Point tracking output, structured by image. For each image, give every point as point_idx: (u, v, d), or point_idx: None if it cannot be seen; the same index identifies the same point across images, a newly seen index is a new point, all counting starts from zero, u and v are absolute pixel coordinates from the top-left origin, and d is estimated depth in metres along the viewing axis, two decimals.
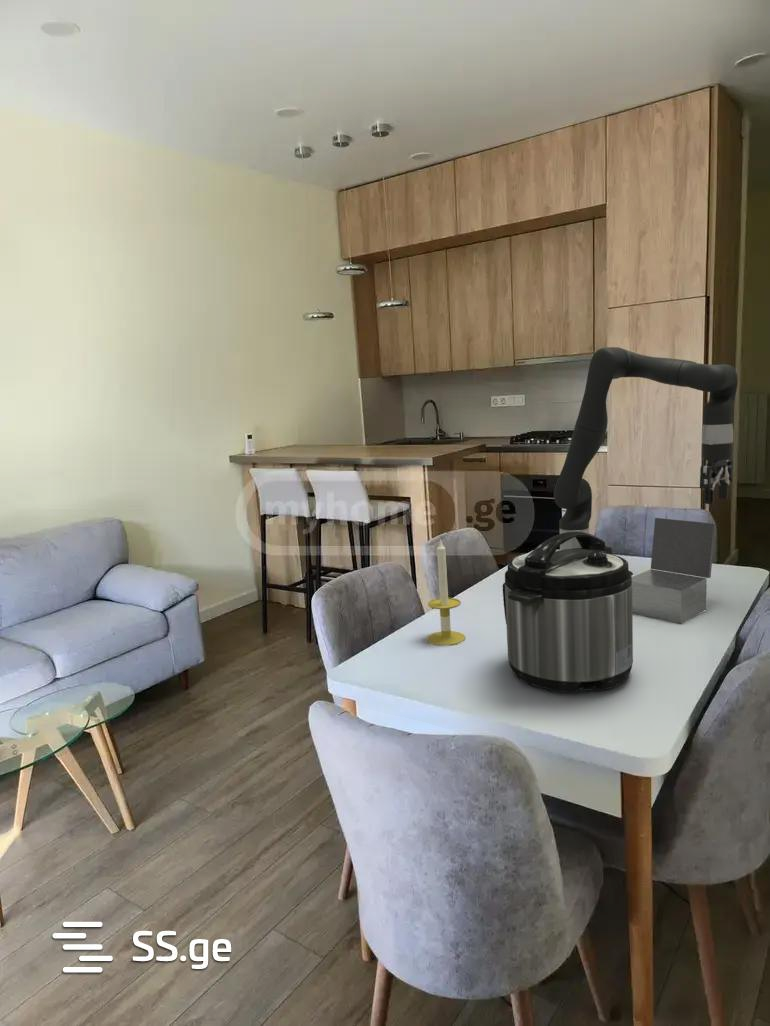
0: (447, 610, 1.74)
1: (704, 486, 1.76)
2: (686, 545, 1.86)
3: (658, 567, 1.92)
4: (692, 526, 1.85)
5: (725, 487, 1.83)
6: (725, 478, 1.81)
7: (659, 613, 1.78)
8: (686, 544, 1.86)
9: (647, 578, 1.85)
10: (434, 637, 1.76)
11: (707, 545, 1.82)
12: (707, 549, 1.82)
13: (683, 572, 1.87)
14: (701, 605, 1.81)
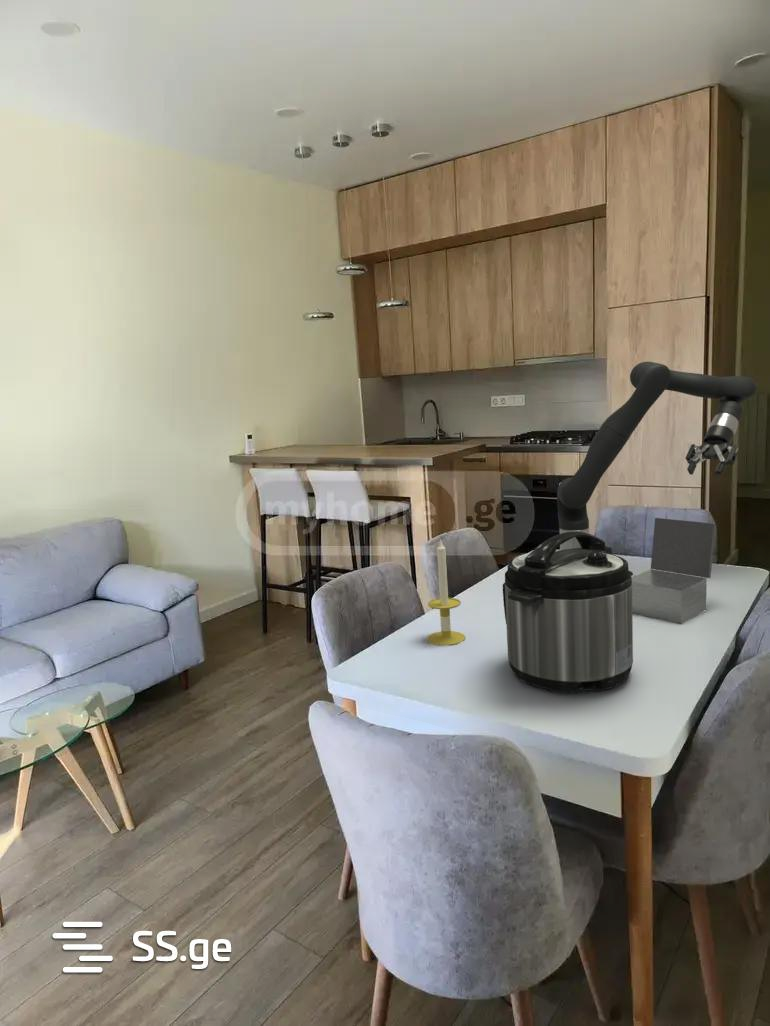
0: (447, 610, 1.74)
1: (732, 461, 1.99)
2: (686, 545, 1.86)
3: (658, 567, 1.92)
4: (692, 526, 1.85)
5: (695, 465, 2.07)
6: (702, 460, 2.07)
7: (659, 613, 1.78)
8: (686, 544, 1.86)
9: (647, 578, 1.85)
10: (434, 637, 1.76)
11: (707, 545, 1.82)
12: (707, 549, 1.82)
13: (683, 572, 1.87)
14: (701, 605, 1.81)
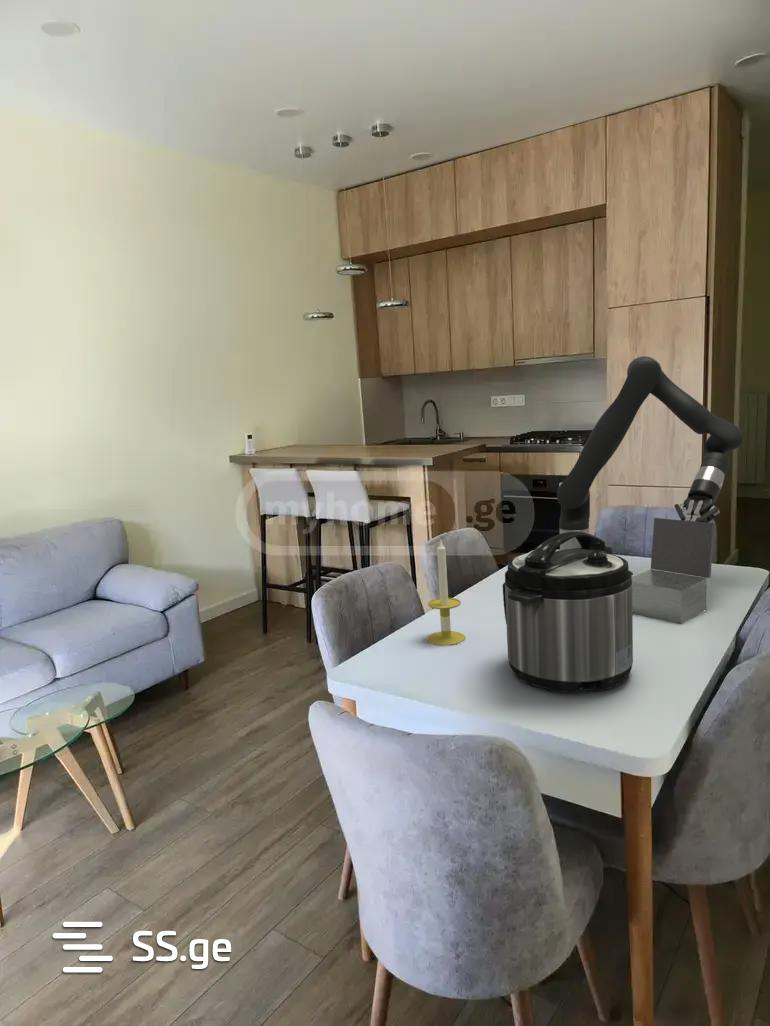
0: (447, 610, 1.74)
1: (703, 521, 1.88)
2: (686, 545, 1.86)
3: (658, 567, 1.92)
4: (691, 526, 1.85)
5: None
6: None
7: (659, 613, 1.78)
8: (686, 544, 1.86)
9: (647, 578, 1.85)
10: (434, 637, 1.76)
11: (707, 545, 1.82)
12: (706, 549, 1.82)
13: (683, 572, 1.87)
14: (701, 605, 1.81)
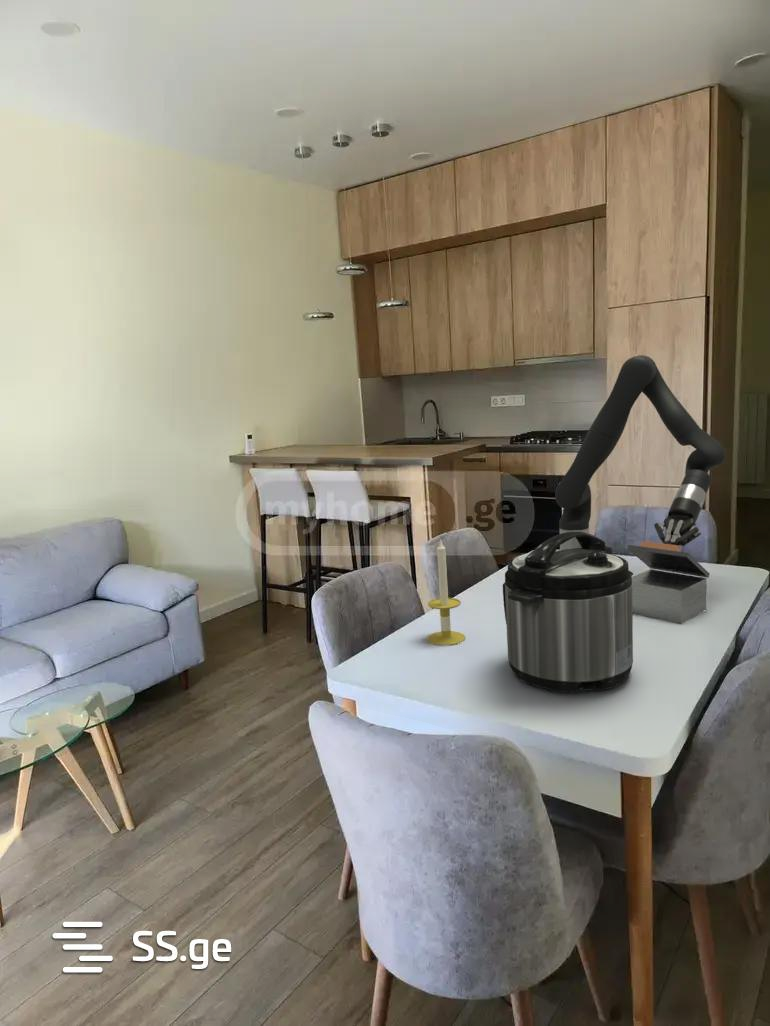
0: (447, 610, 1.74)
1: (683, 541, 1.81)
2: (672, 563, 1.82)
3: (656, 568, 1.92)
4: (668, 556, 1.77)
5: None
6: None
7: (659, 613, 1.78)
8: (671, 562, 1.82)
9: (647, 578, 1.85)
10: (434, 637, 1.76)
11: (691, 565, 1.77)
12: (693, 566, 1.78)
13: (682, 573, 1.86)
14: (701, 605, 1.81)
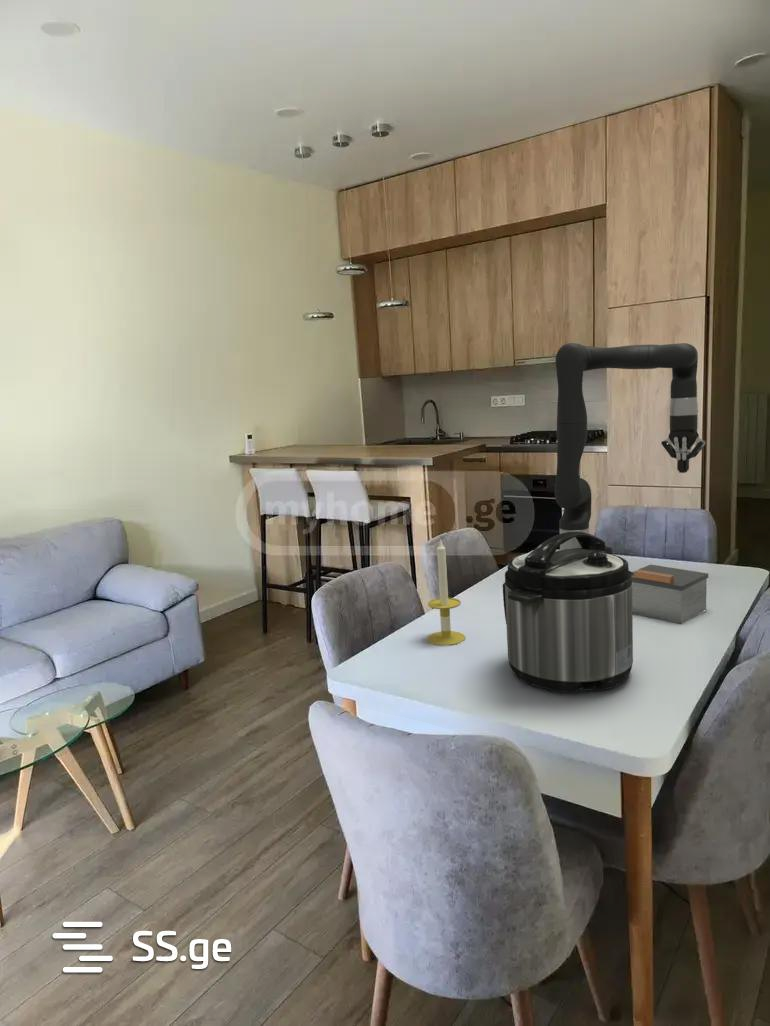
0: (447, 610, 1.74)
1: (693, 455, 1.96)
2: None
3: None
4: None
5: None
6: None
7: (659, 613, 1.78)
8: None
9: None
10: (434, 637, 1.76)
11: None
12: None
13: None
14: (701, 605, 1.81)
